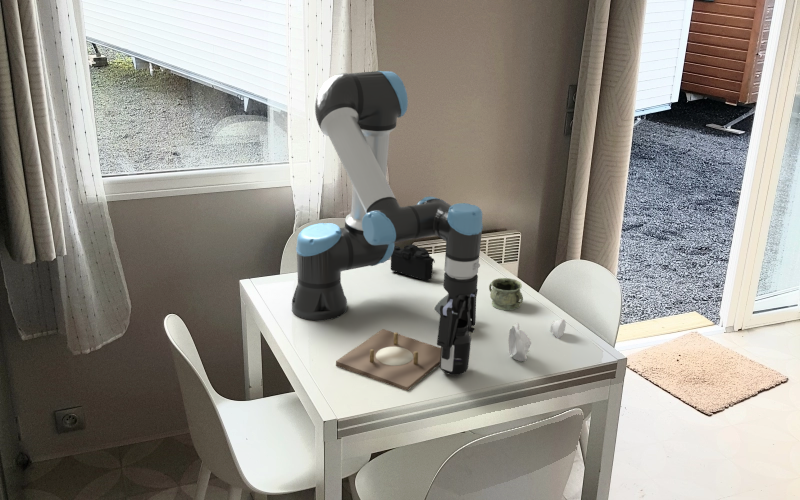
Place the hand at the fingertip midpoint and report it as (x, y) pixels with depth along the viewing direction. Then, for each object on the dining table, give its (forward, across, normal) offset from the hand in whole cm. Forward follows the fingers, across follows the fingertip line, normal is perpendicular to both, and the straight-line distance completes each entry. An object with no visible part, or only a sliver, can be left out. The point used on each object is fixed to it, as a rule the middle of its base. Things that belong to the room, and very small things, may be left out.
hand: (454, 362), depth 182 cm
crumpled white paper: (+4, +15, -10) cm, 19 cm away
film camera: (+4, +47, +40) cm, 61 cm away
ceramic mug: (+4, +23, +12) cm, 26 cm away
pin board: (+3, -3, +15) cm, 15 cm away
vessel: (+4, +42, +7) cm, 42 cm away
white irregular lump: (+4, +32, -13) cm, 35 cm away
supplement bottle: (+2, 0, 0) cm, 2 cm away
